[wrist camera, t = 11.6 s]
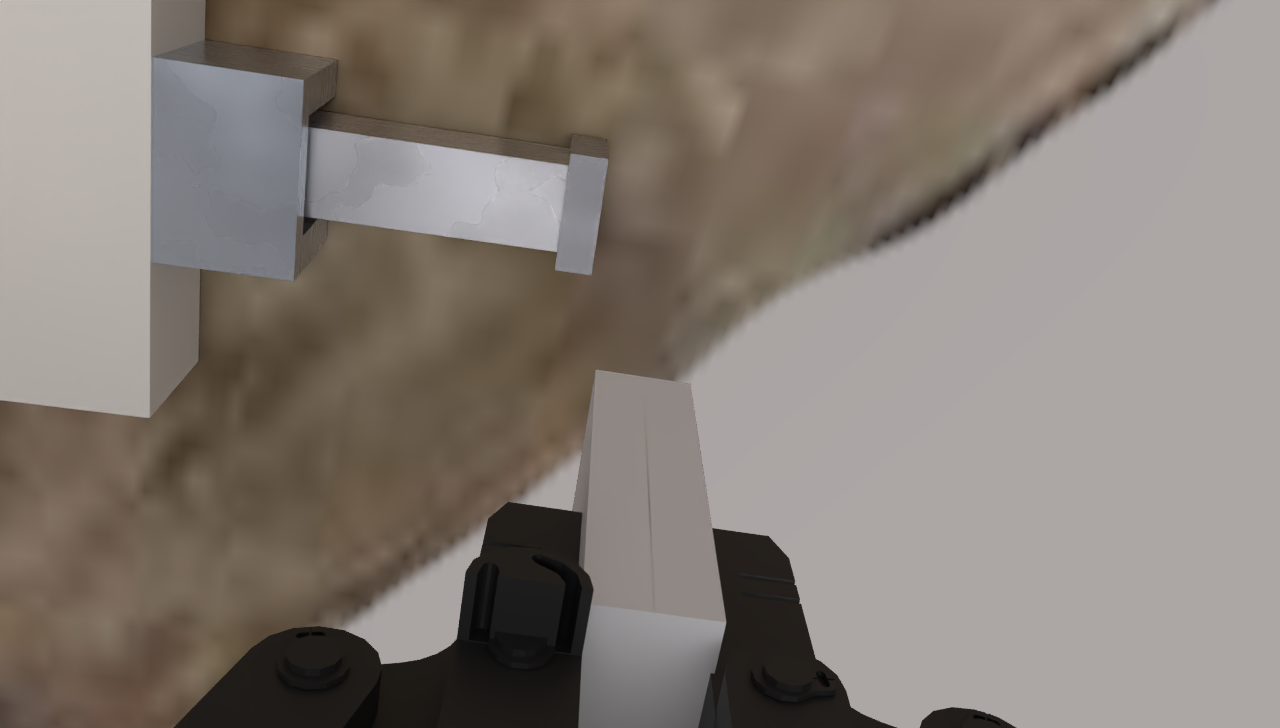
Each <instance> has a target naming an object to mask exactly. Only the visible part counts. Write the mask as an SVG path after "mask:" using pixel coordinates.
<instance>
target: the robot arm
mask: <svg viewBox="0 0 1280 728" xmlns="http://www.w3.org/2000/svg"><path fill="white" fill-rule="evenodd" d="M794 584H795V579H794V576H793V572H792V568H791V565H790V561H789V558H788V557H787V556H786V555H785V554H784V553H783V551H782V550H781V549H780V548H779V547H778V546H777V545H776V544H775V543H774V542H773V541H772V539H771V538H770V537H769V536H762V535H756V534H748V533H742V532H735V531H727V530H721V529H714V528H712V524H711V518H710V511H709V504H708V497H707V491H706V484H705V477H704V471H703V464H702V458H701V451H700V444H699V438H698V431H697V424H696V418H695V411H694V404H693V398H692V392H691V385H690V384H688V383H681V382H675V381H668V380H662V379H655V378H648V377H642V376H635V375H629V374H622V373H615V372H609V371H602V370H596V371H595V377H594V383H593V389H592V395H591V401H590V407H589V413H588V419H587V425H586V431H585V437H584V444H583V450H582V456H581V462H580V468H579V474H578V480H577V486H576V492H575V498H574V504H573V510H572V511H567V510H560V509H553V508H546V507H539V506H532V505H525V504H518V503H511V502H508V503H506V504H505V505H504V506H503V507H502V508H501V509H499V510H498V511H497V512H496V513H495V514H493V515H492V516H491V517H490V518H489V519H488V522H487V527H486V531H485V536H484V540H483V545H482V549H481V553H480V557H478V558H476V559H474V560H473V561H472V563H471V565H470V566H469V568H468V569H467V571H466V574H465V581H464V589H463V597H462V604H461V612H460V619H459V628H458V635H457V640H456V641H455V642H454V643H453V644H452V645H451V646H449V647H448V648H446V649H444V650H443V651H441V652H439V653H438V654H435V655H432V656H429V657H427V658H423V659H421V660H415V661H409V662H403V663H392V664H381V662H380V658H379V655H378V652H377V651H376V650H375V649H374V648H373V647H372V646H371V645H370V644H369V643H368V642H367V641H366V640H365V639H363V638H360V637H358V636H356V635H353V634H351V633H349V632H347V631H345V630H339V629H333V628H326V627H320V626H318V627H304V628H292V629H289V630H286V631H283V632H280V633H277V634H273V635H270V636H268V637H267V638H266V639H264V640H263V641H261V642H260V643H258V644H257V645H255V646H254V647H252V648H251V649H250V650H249V651H248V652H247V653H246V654H245V655H244V656H243V657H242V658H241V659H240V660H239V661H238V663H237V664H236V665H235V666H234V667H233V668H232V669H231V670H230V671H229V672H228V673H227V674H226V675H225V676H224V677H223V678H222V679H221V680H220V681H219V682H218V683H217V684H216V685H215V686H214V687H213V688H212V689H211V690H210V691H209V692H208V693H207V694H206V695H205V696H204V697H203V698H202V699H201V700H200V701H199V702H198V703H197V704H196V705H195V706H194V707H193V708H192V709H191V710H190V711H189V712H188V713H187V715H186V716H185V717H184V718H183V719H182V720H181V721H180V722H179V723H178V724H177V725H176V726H175V727H174V728H896V727H893V726H890V725H888V724H885V723H882V722H879V721H877V720H875V719H872V718H870V717H867V716H865V715H863V714H861V713H860V712H858V711H856V710H855V709H853V708H851V706H850V703H849V700H848V696H847V693H846V690H845V688H844V686H843V685H842V683H841V681H840V679H839V678H838V676H837V675H836V674H835V673H834V672H833V671H832V670H830V669H829V668H828V667H827V666H826V665H824V664H823V663H822V662H821V661H819V660H816V659H815V655H814V651H813V647H812V644H811V640H810V636H809V632H808V628H807V625H806V621H805V617H804V613H803V609H802V606H801V604H799V601H800V598H799V594H798V591H797V587H796V585H794ZM920 728H1016V727H1014V726H1012V725H1011V724H1009V723H1007V722H1005V721H1004V720H1002V719H1000V718H998V717H996V716H993V715H991V714H986V713H985V712H981V711H977V710H972V709H963V708H954V707H951V708H946V709H941V710H937V711H933V712H932V713H931V714H930V715H928V716H927V717H926V718H925V719H924V720H922V723H921V726H920Z"/></svg>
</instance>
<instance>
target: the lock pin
mask: <svg viewBox="0 0 1280 728" xmlns="http://www.w3.org/2000/svg"><path fill="white" fill-rule="evenodd" d="M608 160H609V158H608V148H607V139H601V138H594V137H587V136H581V135H574V134H572V136H571V144H570V148H566V147H559V146H552V145H546V144H539V143H532V142H526V141H519V140H512V139H506V138H499V137H492V136H485V135H479V134H472V133H465V132H459V131H452V130H445V129H439V128H432V127H425V126H418V125H412V124H405V123H398V122H392V121H385V120H378V119H371V118H365V117H358V116H351V115H345V114H338V113H331V112H325V111H318V110H316V111H314V112H313V113H312V114H310V115H309V126H308V145H307V163H306V182H305V201H304V217H311V218H318V219H325V220H332V221H339V222H346V223H354V224H361V225H368V226H375V227H382V228H389V229H396V230H404V231H411V232H418V233H425V234H432V235H439V236H447V237H454V238H461V239H468V240H475V241H482V242H489V243H497V244H504V245H511V246H518V247H525V248H532V249H539V250H547V251H554V252H556V261H555V270H557V271H564V272H572V273H579V274H586V275H591V274H592V268H593V261H594V254H595V247H596V241H597V234H598V227H599V221H600V214H601V207H602V200H603V194H604V187H605V180H606V174H607V167H608Z"/></svg>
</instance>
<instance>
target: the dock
mask: <svg viewBox="0 0 1280 728" xmlns="http://www.w3.org/2000/svg"><path fill="white" fill-rule="evenodd" d="M205 7H206V0H0V400H4V401H12V402H20V403H28V404H37V405H45V406H53V407H61V408H70V409H78V410H86V411H95V412H103V413H111V414H119V415H128V416H136V417H144V418H150V417H151V416H152V415H153V414H154V413H155V411H156V410H157V409H158V408H159V407H160V406H161V404H162V403H163V402H164V401H165V400H166V399H167V397H168V396H169V395H170V394H171V393H172V392H173V390H174V389H175V388H176V387H177V386H178V385H179V383H180V382H181V381H182V380H183V379H184V378H185V376H186V375H187V374H188V373H189V372H190V371H191V369H192V368H193V367H194V366H195V365H196V364H197V362H198V359H199V309H200V269H198V268H190V267H183V266H176V265H168V264H161V263H153V262H152V57H154V56H157V55H160V54H163V53H166V52H169V51H172V50H175V49H178V48H181V47H184V46H187V45H190V44H193V43H196V42H199V41H202V40H205Z"/></svg>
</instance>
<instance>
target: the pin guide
mask: <svg viewBox="0 0 1280 728" xmlns="http://www.w3.org/2000/svg"><path fill="white" fill-rule="evenodd" d="M337 61H338V60H335V59H329V58H322V57H316V56H309V55H303V54H296V53H290V52H283V51H277V50H270V49H264V48H257V47H251V46H244V45H238V44H231V43H225V42H218V41H212V40H202V41H199V42H196V43H193V44H190V45H187V46H184V47H181V48H178V49H175V50H172V51H169V52H166V53H163V54H160V55H157V56H154V57H152V262H153V263H161V264H168V265H176V266H183V267H190V268H198V269H205V270H213V271H220V272H228V273H235V274H243V275H250V276H257V277H265V278H272V279H280V280H287V281H294V280H295V279H296V278H297V276H298V275H299V274H300V273H301V271H302V270H303V269H304V268H305V266H306V265H307V264H308V262H309V261H310V260H311V259H312V257H313V256H314V255H315V254H316V252H317V251H318V250H319V248H320V247H321V246H322V245H323V243H324V242H325V241H326V240H327V225H328V220H325V219H318V218H311V217H304V201H305V182H306V163H307V145H308V126H309V115H310V114H312V113H313V112H314V111H316V110H317V109H318V108H320V107H321V106H323V105H324V104H325V103H327V102H328V101H329V100H331V99H332V98H333V97H335V94H336V77H337Z"/></svg>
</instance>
